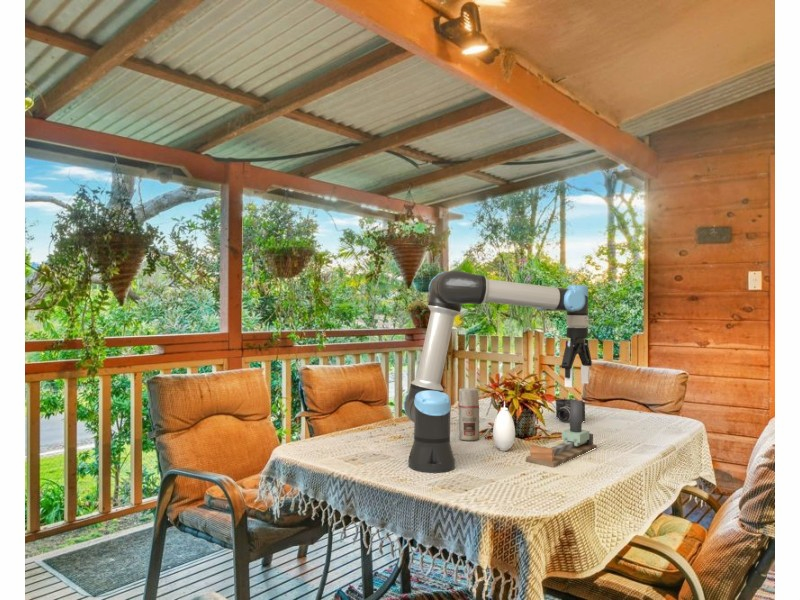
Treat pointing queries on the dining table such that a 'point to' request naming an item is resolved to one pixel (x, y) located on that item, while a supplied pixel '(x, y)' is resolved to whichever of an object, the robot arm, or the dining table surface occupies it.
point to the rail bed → (563, 456)
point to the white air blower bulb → (504, 430)
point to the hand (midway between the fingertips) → (576, 385)
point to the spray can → (468, 414)
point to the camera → (566, 409)
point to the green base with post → (575, 425)
